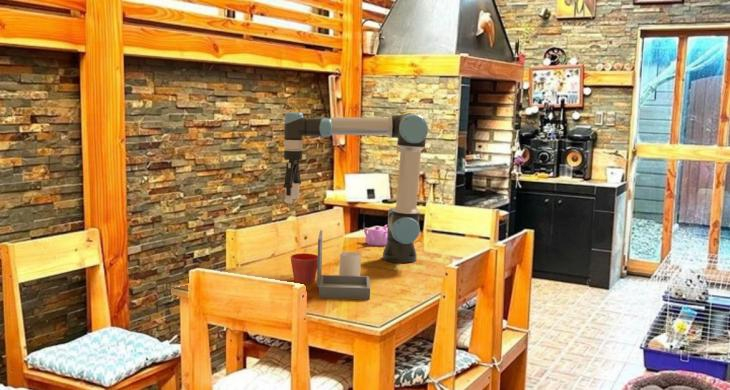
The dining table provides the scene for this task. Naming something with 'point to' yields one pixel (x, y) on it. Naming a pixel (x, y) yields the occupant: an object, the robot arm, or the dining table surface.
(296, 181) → the robot arm
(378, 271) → the dining table surface
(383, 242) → the pink toy pig
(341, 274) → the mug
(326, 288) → the case
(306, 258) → the flower pot
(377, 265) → the dining table surface
